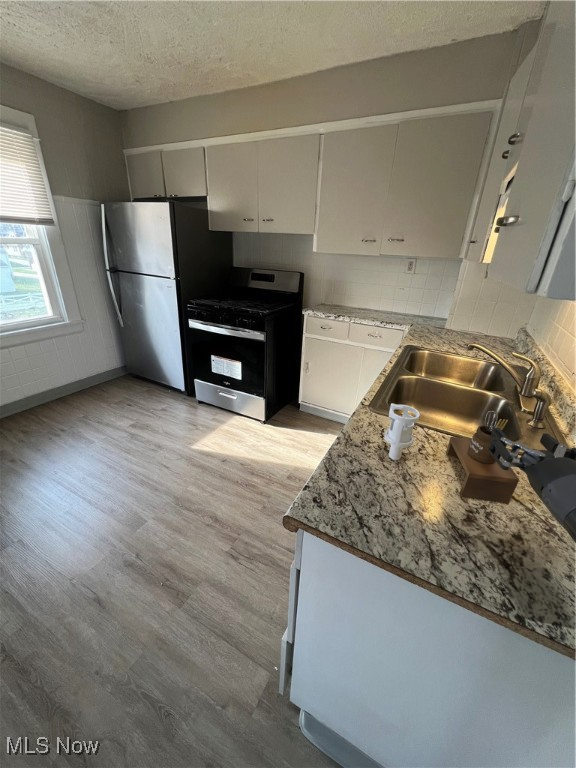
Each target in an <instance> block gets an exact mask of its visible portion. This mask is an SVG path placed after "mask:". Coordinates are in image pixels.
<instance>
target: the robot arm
mask: <svg viewBox="0 0 576 768" xmlns="http://www.w3.org/2000/svg"><path fill="white" fill-rule="evenodd" d="M491 438H492V439H491V443H490V445H489V447H488V451H489V453H490V454H491V455H492V457H493V458H494V459H495V460H496V462H497V463H498V464H499V466H500V467H501V468H502V469H503V470H509V468H510V467H511V468H518V469H519V470H520V471H522V472H523V473H524V474H525V475H526V477H527V480H528V484H529V486H530V487H531V488H532V490H533V492H535V494H536V495H537V497H538V498H539V499H540V501H541V502H542V504H543V505H544V506H545V508H546V509H547V510H548V511H549V513H550V514H551V516H552V517H553V518H554V519H555V521H557V523H558V524H559V525H560V526H561V527H562V528H563V529H564V530H565V531H566V533H567V534H568V536H569V537H570V538H571V539H572V540H573V542H574V543H575V544H576V447H572V448H568V447H567V445H565V444H562V443H560V442H559V441H558V440H557V439H556V438H555V437H554V436H552V435H551V434H550V433H546V432H543V433H542V435H541V437H540V440H539V442H540V444H541V446H543V448H544V449H536V448H532V447H529V446H527V445H525V444H524V443H522V442H520V441H518V442H514V441H512V440H510V439H508V437H507V435H506V434H505V433H504V431H503V430H501V429H500V428H495V429H494V430H493V431H492V434H491ZM507 447H510V448H511V450H509V449H508V448H507ZM520 450H521V451H522V454H521V456H520V457H519V453H520Z"/></svg>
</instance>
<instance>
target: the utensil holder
mask: <svg viewBox="0 0 576 768" xmlns="http://www.w3.org/2000/svg"><path fill="white" fill-rule="evenodd" d="M492 412H493V416H492V417H493V418H492V419H495V416H496V418H498V417H499V416H498V413H497V412H496V411H494V410H490V411H487V413H486V415H485V418H484V419H485V420H484V421H486V420H487V423H489V421H490V418H491V415H492ZM495 413H496V414H495ZM487 416H488V419H487ZM494 421H495V423H494ZM508 422H509V419H503V420H502V418H500V419H499V420H498V419H496V420H492V422H491V424H490V425H489V424H486V423H484V424H481V425H479V426H478V427H477V428H476V430H475V433H474V434H473V435H472V437H471V438H470V439H471V442H470V445H469V449H468V453H469V455H470V456H471V457H472V458H474V459H475V460H477V461H480V462H483V463H493V462H495V461H496V460H495V459H494V458H493V457H492V455H491V454H490V453H489V451H488V447H489V445H490V443H491V439H492V438H491V434H492V431H493V430H494V429H495V428H500V429H501V430H502V431H503V430H504V428H505V427H506V425H507V423H508ZM493 424H494V425H493Z"/></svg>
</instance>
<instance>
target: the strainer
mask: <svg viewBox="0 0 576 768" xmlns="http://www.w3.org/2000/svg"><path fill="white" fill-rule="evenodd" d="M395 410H396V411H397V410H401V411H402V415H398V414H396V413H395ZM409 412H410V413H412V414H414V415H415V416H413V415H412V414H409ZM420 416H421V413H420V412H419V410H417V408H415V407H412V406H411V405H407V404H396V403H393V402H391V404H390V406H389V412H388V418H389V419H390V424H389V427H388V429H386V430H385V432H384V440H385V441H386V442H387V443H388V444H390V447H389V452H388V457H389V458H390V459H391V460H393V461H399V460H401V459H402V458H401V457H402V454H403V451H404V450H403V449H404V448H410V447H411V446H413V444H414V441H415V437H414V435H413V430H414V426H415V423H417V422H418V421H419V420H420Z"/></svg>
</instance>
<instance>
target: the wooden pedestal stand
mask: <svg viewBox="0 0 576 768" xmlns="http://www.w3.org/2000/svg"><path fill="white" fill-rule="evenodd" d="M471 439H472V438H468V437H467V438H466V437H458V436H450V438H449V441H448V444H447V448H446V451H445V455H446V456H447V457H454V458H458V459H459V462H460V464H461V466H462V467H463V468H462V469H463V470H464V471H465V477H464V479H463V482H462V485H461V487H460V491H459V495H460V497H461V498H467V499H474V500H480V501H487V502H493V503H500V504H509V505H510V502H511V500H512V497H513V495H514V493H515V491H516V488H517V486H518V484H519V482H520V478H519V477H518V475H517V473H516V472H515V471H514V470H513V467H510V468H509V470H503V469H502V468H501V467H500V466H499V464H498V463H497V462H496V461H495V462H493V463H483V462H480V461H477V460H475V459H474V458H472V457H471V456H470V455H469V453H468V449H469V445H470V442H471Z"/></svg>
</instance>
